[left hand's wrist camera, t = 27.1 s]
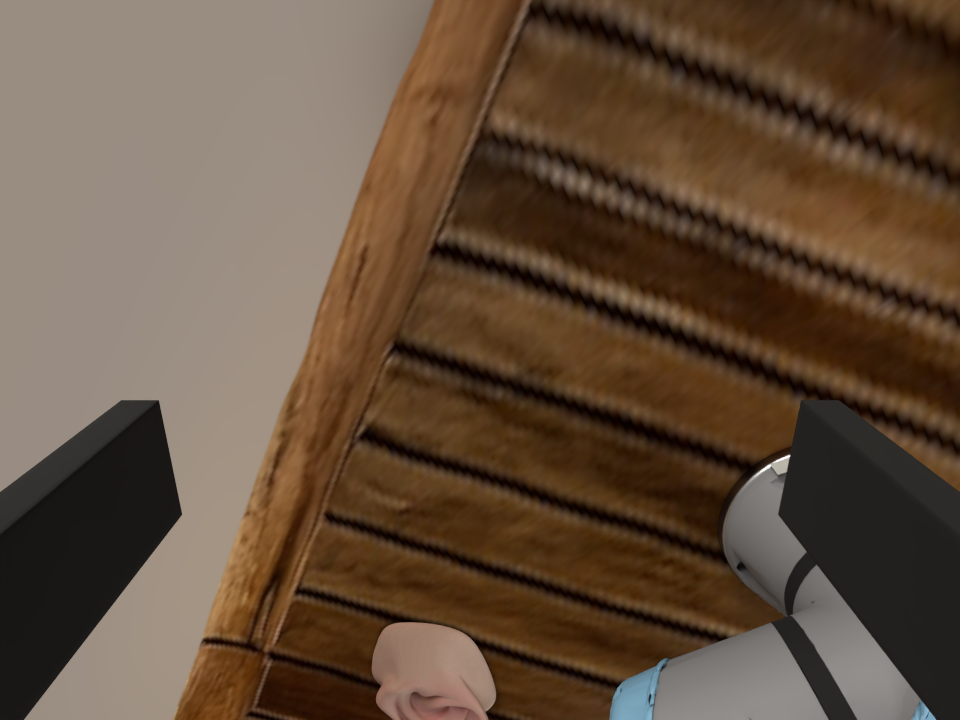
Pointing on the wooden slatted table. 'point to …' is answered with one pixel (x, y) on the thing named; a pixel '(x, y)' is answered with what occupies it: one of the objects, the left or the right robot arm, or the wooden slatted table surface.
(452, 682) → the anatomical model
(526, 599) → the wooden slatted table surface
